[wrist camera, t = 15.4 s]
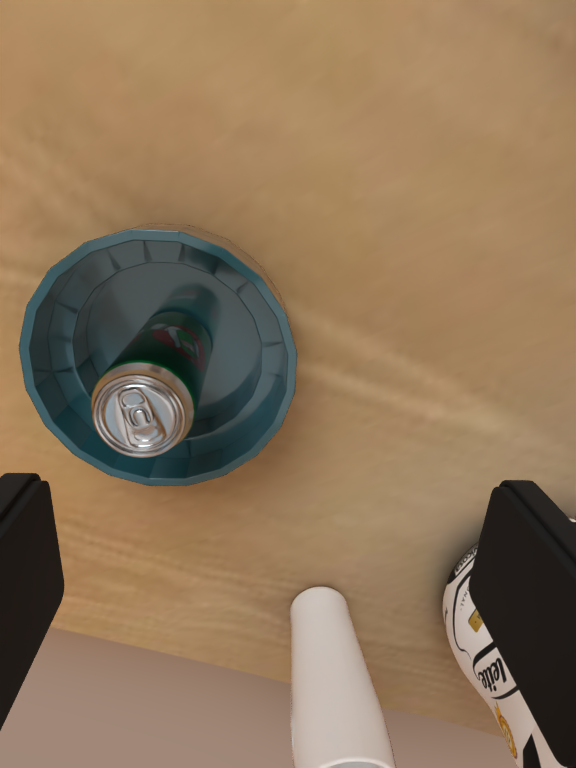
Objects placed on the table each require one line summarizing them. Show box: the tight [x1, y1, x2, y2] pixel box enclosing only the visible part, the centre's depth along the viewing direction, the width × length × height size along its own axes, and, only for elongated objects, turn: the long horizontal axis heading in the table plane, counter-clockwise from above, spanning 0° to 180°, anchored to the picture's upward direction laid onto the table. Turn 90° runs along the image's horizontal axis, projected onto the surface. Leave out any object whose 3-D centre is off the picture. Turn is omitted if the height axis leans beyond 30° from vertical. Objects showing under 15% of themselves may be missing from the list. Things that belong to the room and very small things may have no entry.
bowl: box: [19, 224, 297, 486], centre depth 31 cm, size 16×16×6 cm
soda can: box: [91, 312, 212, 458], centre depth 28 cm, size 5×5×12 cm
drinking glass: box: [290, 586, 396, 768], centre depth 37 cm, size 7×7×15 cm
